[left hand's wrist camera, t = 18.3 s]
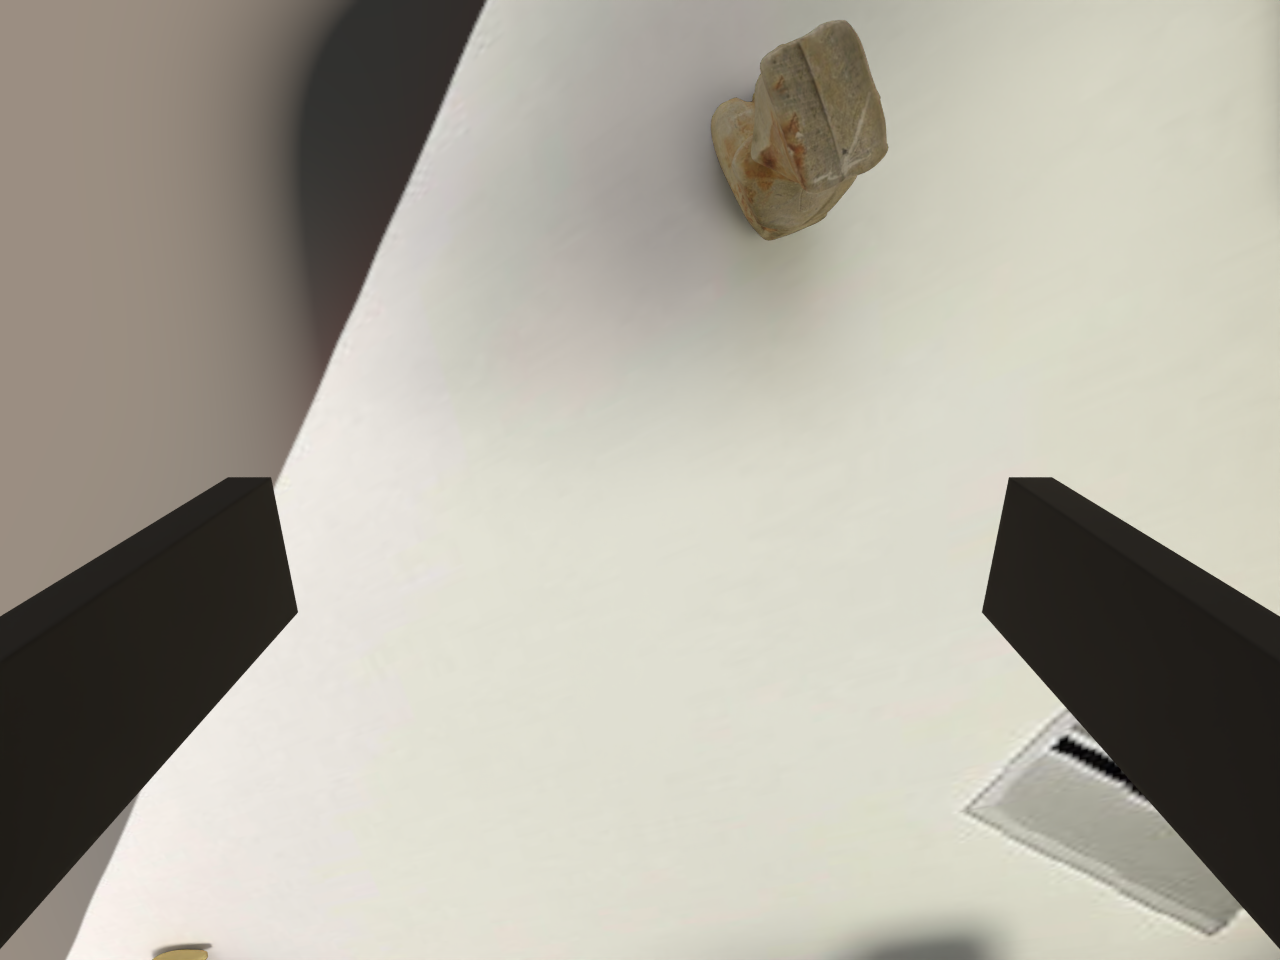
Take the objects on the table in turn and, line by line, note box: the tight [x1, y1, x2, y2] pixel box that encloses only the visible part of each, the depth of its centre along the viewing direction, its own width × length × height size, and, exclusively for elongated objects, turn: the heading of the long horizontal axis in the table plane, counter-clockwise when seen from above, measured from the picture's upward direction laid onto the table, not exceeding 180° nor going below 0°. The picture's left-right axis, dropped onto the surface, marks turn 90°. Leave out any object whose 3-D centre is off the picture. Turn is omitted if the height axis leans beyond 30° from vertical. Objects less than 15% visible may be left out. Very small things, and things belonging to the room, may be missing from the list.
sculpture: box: [711, 20, 888, 240], centre depth 30 cm, size 6×7×15 cm
